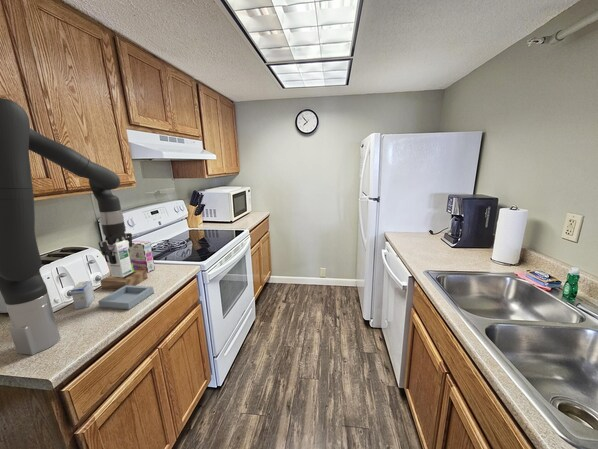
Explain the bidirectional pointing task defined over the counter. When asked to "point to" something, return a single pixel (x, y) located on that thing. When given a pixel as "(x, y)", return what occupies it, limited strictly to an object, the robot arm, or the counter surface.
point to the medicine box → (82, 294)
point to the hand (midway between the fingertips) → (120, 260)
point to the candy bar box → (142, 256)
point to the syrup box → (121, 259)
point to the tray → (126, 297)
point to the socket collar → (124, 280)
